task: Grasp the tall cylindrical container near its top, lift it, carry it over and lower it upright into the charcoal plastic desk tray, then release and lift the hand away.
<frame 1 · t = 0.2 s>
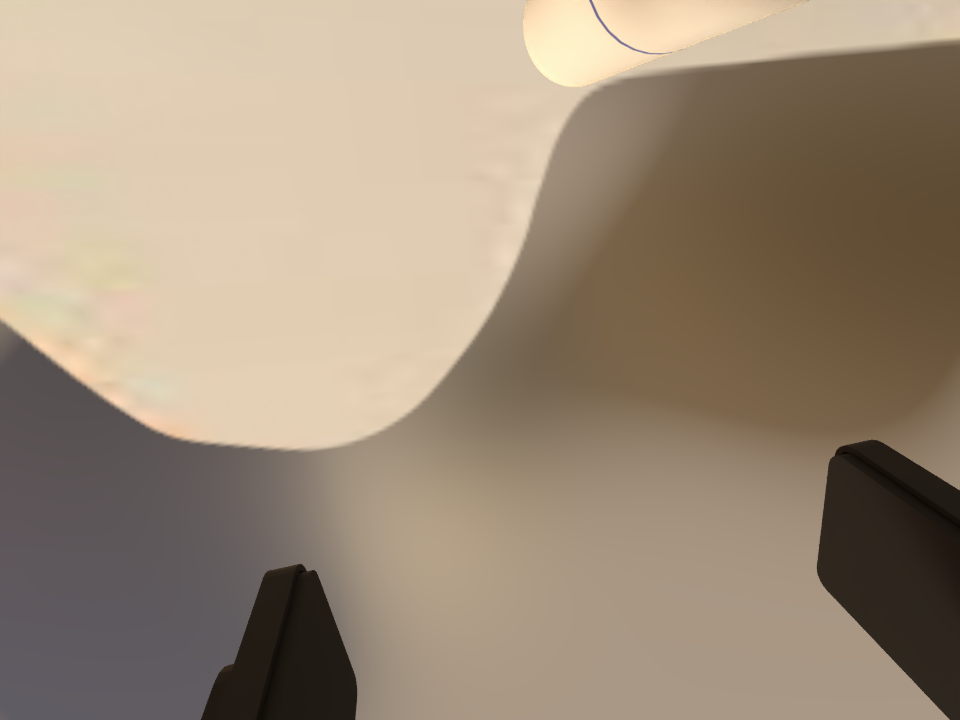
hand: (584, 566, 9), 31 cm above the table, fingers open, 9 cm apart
cylindrical container: (576, 25, 34), on the table
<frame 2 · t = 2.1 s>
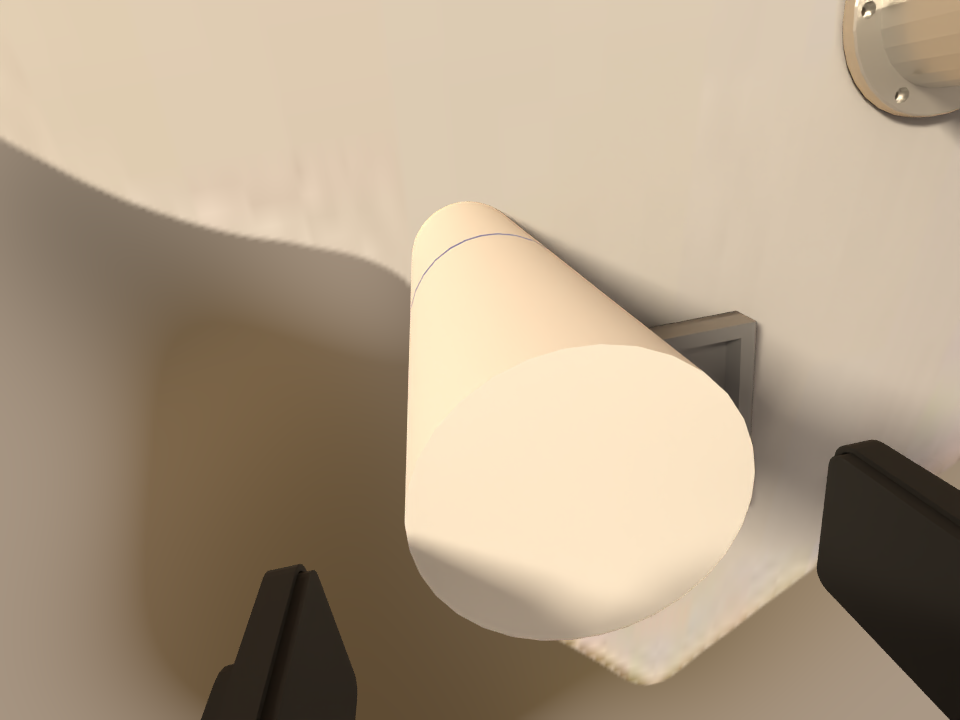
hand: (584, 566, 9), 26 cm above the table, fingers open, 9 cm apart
cylindrical container: (468, 259, 34), on the table
desk tray: (631, 430, 40), on the table
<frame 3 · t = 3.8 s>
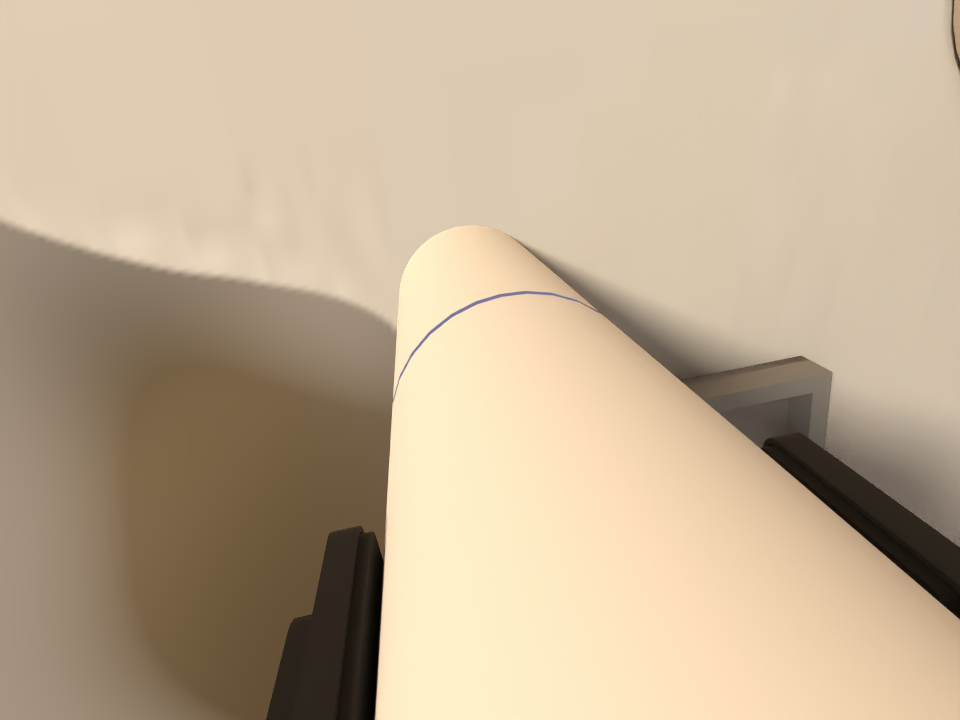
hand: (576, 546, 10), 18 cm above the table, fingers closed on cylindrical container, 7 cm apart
cylindrical container: (470, 297, 27), on the table, touching gripper
desk tray: (669, 498, 33), on the table
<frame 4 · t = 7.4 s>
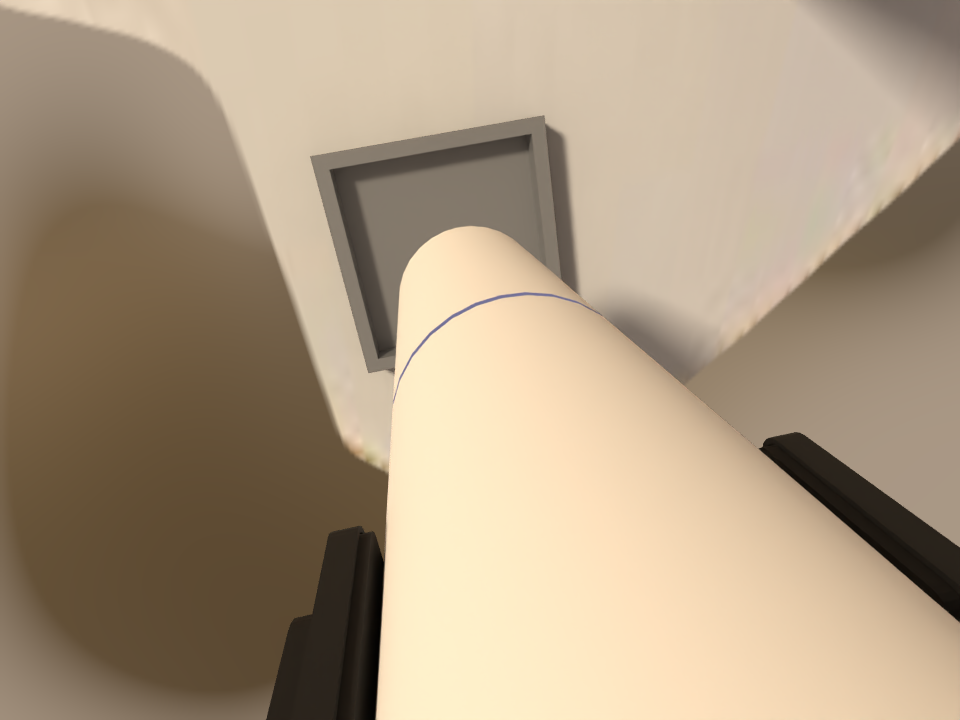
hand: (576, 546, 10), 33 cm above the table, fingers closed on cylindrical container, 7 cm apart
cylindrical container: (470, 297, 27), point 15 cm above the table, touching gripper
desk tray: (448, 247, 41), on the table
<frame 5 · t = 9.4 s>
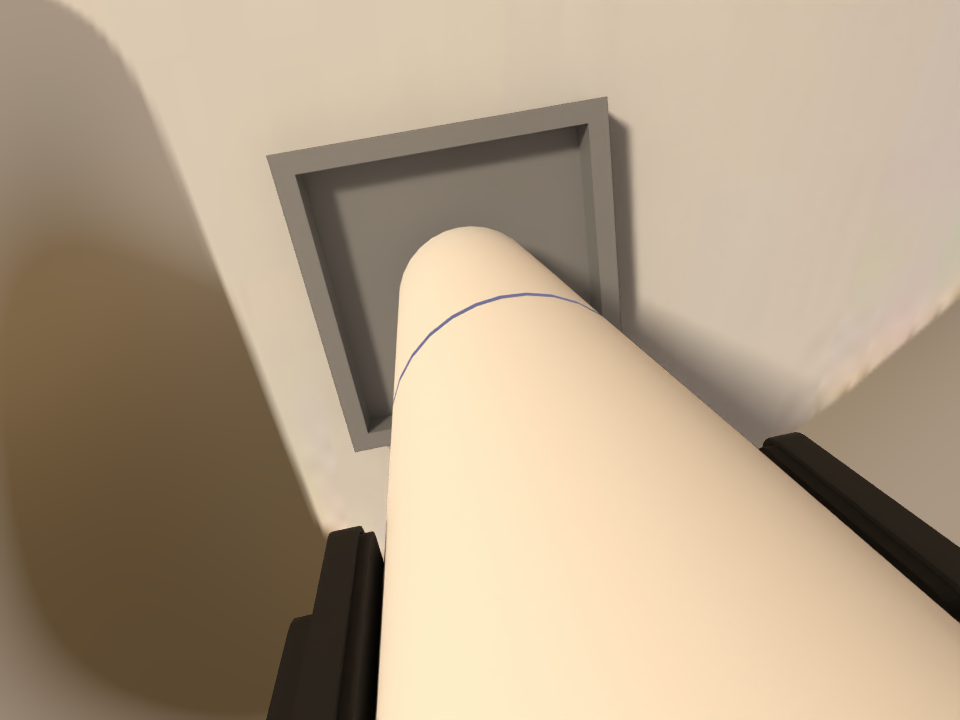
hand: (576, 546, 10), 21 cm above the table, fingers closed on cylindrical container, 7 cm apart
cylindrical container: (470, 298, 27), point 3 cm above the table, touching gripper
desk tray: (464, 280, 30), on the table
when the fingers open (20 cm above the table, at t = 10.8 s): cylindrical container drops 1 cm, resting on desk tray.
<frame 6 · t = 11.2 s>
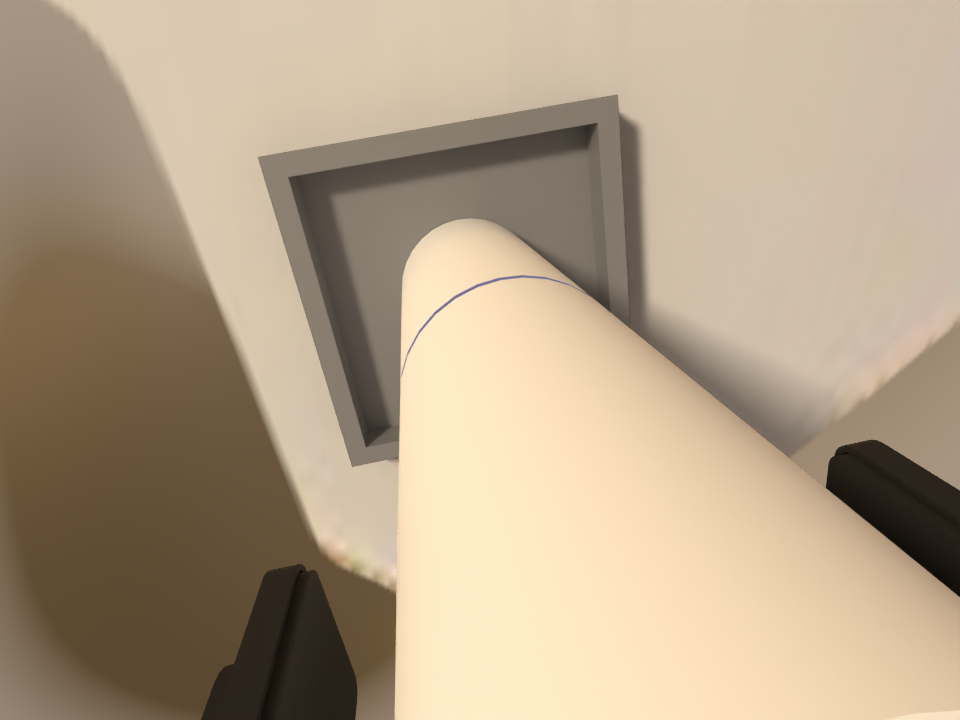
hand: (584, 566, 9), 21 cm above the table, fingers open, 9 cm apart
cylindrical container: (470, 287, 28), resting on desk tray
desk tray: (466, 287, 28), on the table
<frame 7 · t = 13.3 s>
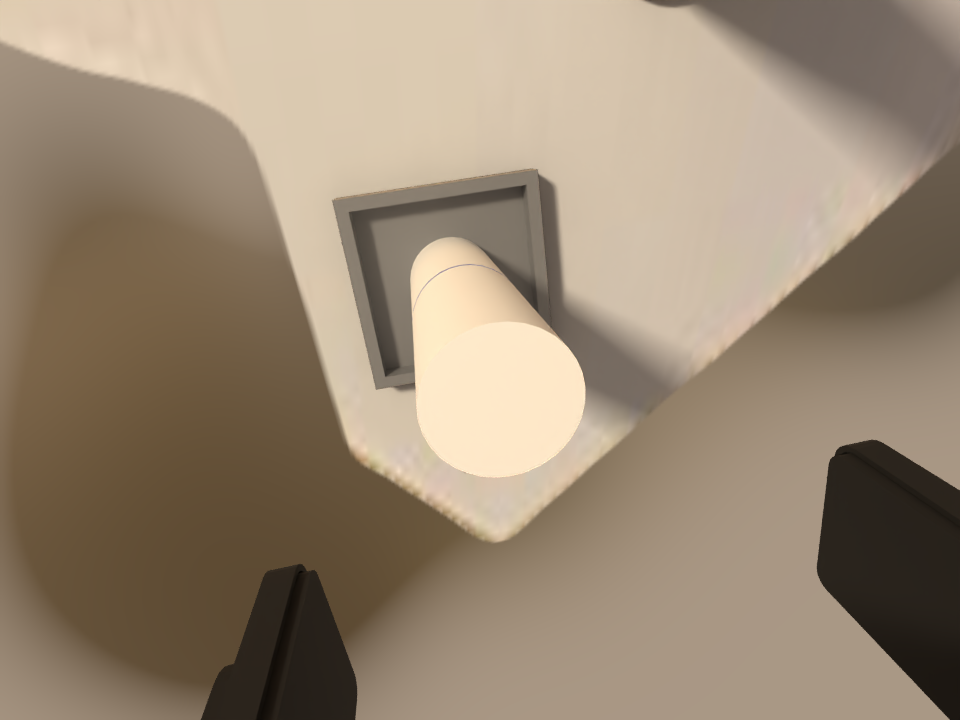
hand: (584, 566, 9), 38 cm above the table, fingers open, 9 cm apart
cylindrical container: (452, 278, 45), resting on desk tray
desk tray: (450, 279, 46), on the table
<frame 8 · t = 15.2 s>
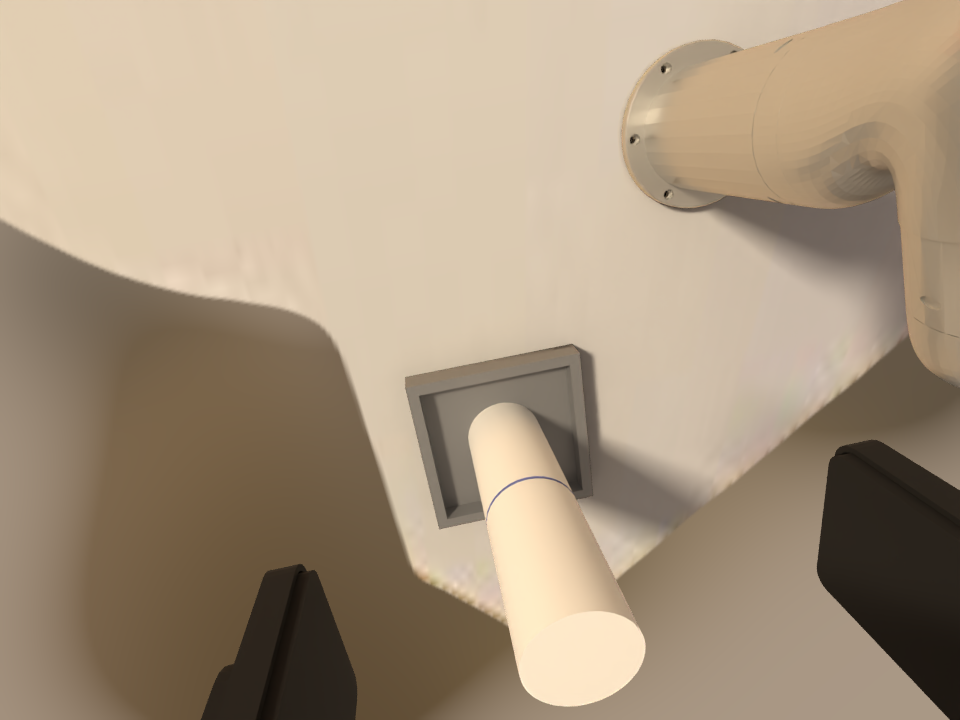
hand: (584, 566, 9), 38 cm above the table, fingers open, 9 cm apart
cylindrical container: (503, 434, 52), resting on desk tray
desk tray: (501, 433, 53), on the table
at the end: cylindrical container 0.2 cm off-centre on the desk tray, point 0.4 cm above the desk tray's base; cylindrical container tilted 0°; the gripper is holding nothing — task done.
